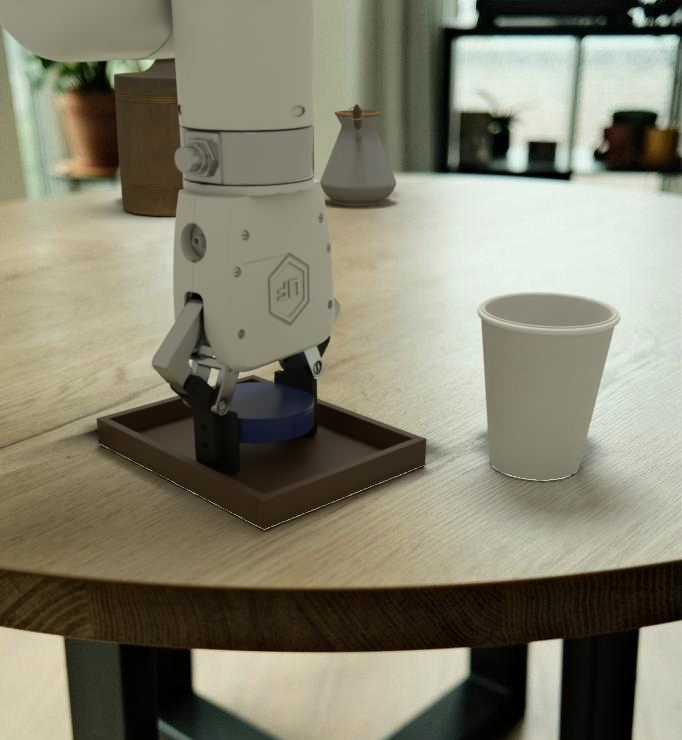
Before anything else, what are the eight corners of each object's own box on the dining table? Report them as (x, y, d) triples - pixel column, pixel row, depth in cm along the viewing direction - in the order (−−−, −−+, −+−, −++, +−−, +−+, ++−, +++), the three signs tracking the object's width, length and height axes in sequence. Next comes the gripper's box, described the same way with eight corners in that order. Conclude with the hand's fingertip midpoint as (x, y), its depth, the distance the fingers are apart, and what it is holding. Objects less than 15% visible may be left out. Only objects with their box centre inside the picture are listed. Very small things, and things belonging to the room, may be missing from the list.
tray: (98, 444, 67) (95, 418, 67) (254, 398, 76) (253, 374, 75) (264, 531, 56) (263, 500, 55) (425, 466, 64) (426, 438, 63)
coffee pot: (322, 195, 160) (321, 93, 153) (395, 196, 159) (398, 93, 153) (313, 220, 141) (312, 104, 134) (396, 221, 140) (399, 104, 134)
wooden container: (244, 209, 148) (238, 43, 139) (154, 220, 140) (141, 45, 130) (191, 196, 159) (182, 41, 149) (105, 206, 151) (89, 43, 141)
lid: (337, 425, 65) (338, 401, 64) (250, 453, 60) (250, 427, 60) (266, 397, 69) (265, 375, 69) (180, 421, 65) (179, 397, 64)
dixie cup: (441, 459, 65) (448, 306, 61) (527, 429, 70) (540, 284, 66) (541, 503, 59) (557, 336, 55) (628, 467, 64) (650, 311, 60)
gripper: (187, 184, 50) (208, 512, 57) (388, 150, 62) (383, 423, 70) (85, 171, 54) (117, 479, 61) (293, 142, 66) (298, 401, 74)
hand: (258, 447), depth 66 cm, fingers closed on lid, 7 cm apart
